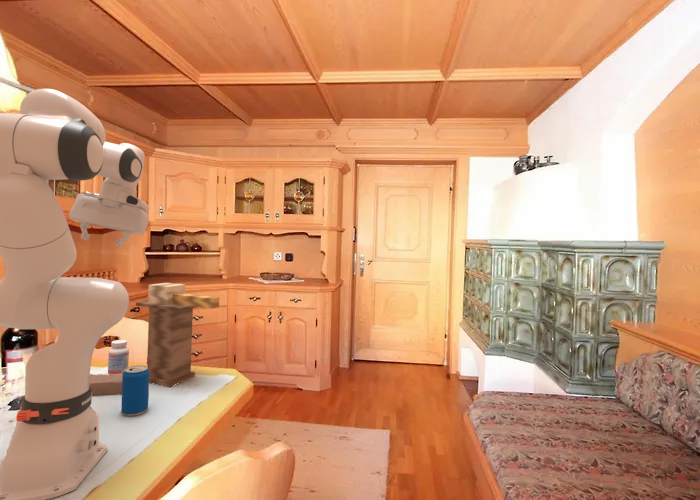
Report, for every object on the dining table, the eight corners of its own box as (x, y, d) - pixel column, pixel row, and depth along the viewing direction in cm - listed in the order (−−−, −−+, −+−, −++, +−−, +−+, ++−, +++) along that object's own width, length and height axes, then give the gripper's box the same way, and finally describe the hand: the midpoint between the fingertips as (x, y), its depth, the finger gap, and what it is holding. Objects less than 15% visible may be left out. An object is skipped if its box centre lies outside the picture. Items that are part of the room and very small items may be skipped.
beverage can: (135, 405, 110) (137, 363, 110) (153, 409, 108) (154, 366, 108) (115, 414, 104) (116, 370, 104) (133, 419, 102) (135, 374, 102)
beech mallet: (223, 306, 129) (224, 288, 128) (207, 309, 121) (208, 290, 121) (166, 299, 136) (167, 282, 136) (148, 302, 129) (148, 284, 129)
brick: (134, 384, 126) (134, 370, 126) (126, 395, 118) (127, 379, 118) (75, 388, 121) (75, 373, 121) (63, 399, 113) (63, 383, 113)
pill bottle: (103, 376, 131) (104, 343, 131) (115, 370, 137) (116, 338, 137) (121, 377, 131) (122, 344, 131) (131, 371, 137) (132, 339, 137)
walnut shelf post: (202, 377, 134) (205, 302, 133) (176, 389, 123) (179, 307, 122) (162, 369, 140) (164, 298, 139) (133, 380, 128) (136, 302, 128)
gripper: (73, 186, 110) (57, 232, 107) (147, 202, 112) (133, 248, 109) (84, 193, 116) (69, 237, 113) (155, 208, 118) (141, 251, 115)
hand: (101, 242), depth 111 cm, fingers open, 8 cm apart
